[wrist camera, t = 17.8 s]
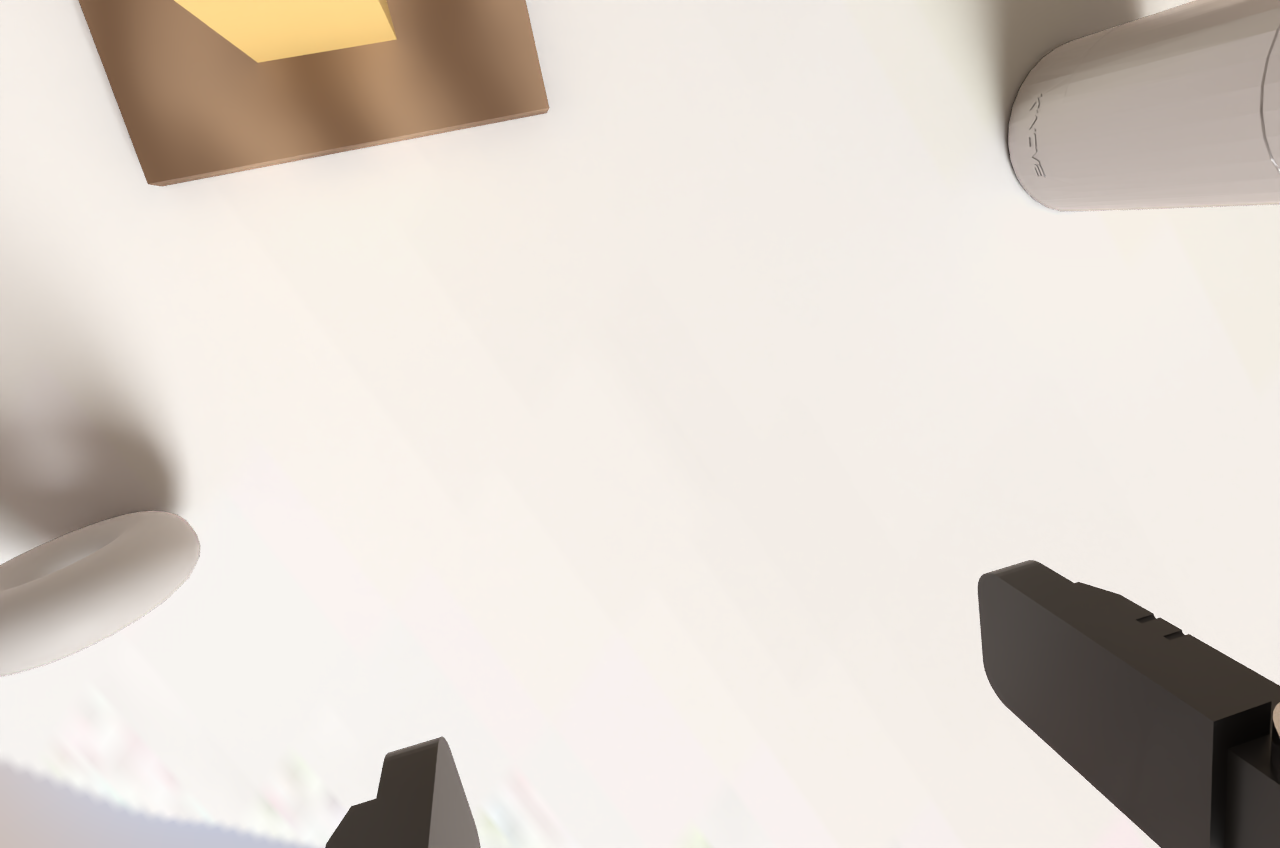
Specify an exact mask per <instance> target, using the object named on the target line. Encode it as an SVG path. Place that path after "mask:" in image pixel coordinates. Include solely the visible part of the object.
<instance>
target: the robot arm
mask: <svg viewBox="0 0 1280 848" xmlns="http://www.w3.org/2000/svg"><path fill="white" fill-rule="evenodd" d="M1008 145H1009V152H1010V159H1011V163H1012V166H1013V168H1014V171H1015V174H1016V177H1017V178H1018V180H1019V181H1020V183H1021V185H1022V186H1023V188H1024V190H1025V191H1026V192H1027V193H1028V194H1029V195H1030V196H1031V197H1032V198H1033V199H1034V200H1035V201H1037V202H1039V203H1041V204H1042V205H1044V206H1046V207H1048V208H1051V209H1055V210H1058V211H1104V210H1140V209H1167V208H1194V207H1221V206H1248V205H1275V204H1280V0H1195V1H1192V2H1189V3H1186V4H1183V5H1180V6H1177V7H1174V8H1171V9H1168V10H1165V11H1162V12H1159V13H1156V14H1153V15H1150V16H1147V17H1143V18H1140V19H1137V20H1134V21H1130V22H1127V23H1124V24H1121V25H1118V26H1115V27H1112V28H1109V29H1106V30H1103V31H1100V32H1097V33H1094V34H1091V35H1088V36H1085V37H1082V38H1079V39H1076V40H1073V41H1070V42H1068V43H1066V44H1063V45H1061V46H1059V47H1057V48H1055V49H1054V50H1053V51H1051V52H1050V53H1049V54H1047V55H1046V56H1045V57H1043V58H1042V59H1041V60H1040V61H1039V62H1038V63H1037V65H1036V66H1035V67H1034V68H1033V69H1032V70H1031V71H1030V72H1029V74H1028V76H1027V77H1026V79H1025V81H1024V82H1023V84H1022V86H1021V87H1020V89H1019V92H1018V94H1017V97H1016V99H1015V102H1014V104H1013V107H1012V112H1011V117H1010V122H1009V135H1008ZM978 599H979V612H980V625H981V639H982V652H983V663H984V668H985V672H986V675H987V677H988V680H989V682H990V684H991V686H992V688H993V690H994V691H995V693H996V695H997V696H998V697H999V699H1000V700H1001V701H1002V703H1003V704H1004V705H1005V706H1006V707H1007V708H1008V709H1010V710H1011V711H1012V712H1013V713H1014V714H1015V715H1016V716H1017V717H1018V718H1019V719H1021V720H1022V721H1023V722H1024V723H1025V724H1026V725H1027V726H1028V727H1029V728H1030V729H1031V730H1033V731H1034V732H1035V733H1036V734H1037V735H1038V736H1039V737H1040V738H1041V739H1042V740H1044V741H1045V742H1046V743H1047V744H1048V745H1049V746H1050V747H1051V748H1052V749H1053V750H1055V751H1056V752H1057V753H1058V754H1059V755H1060V756H1061V757H1062V758H1063V759H1064V760H1065V761H1067V762H1068V763H1069V764H1070V765H1071V766H1072V767H1073V768H1074V769H1075V770H1076V771H1078V772H1079V773H1080V774H1081V775H1082V776H1083V777H1084V778H1085V779H1086V780H1087V781H1089V782H1090V783H1091V784H1092V785H1093V786H1094V787H1095V788H1096V789H1097V790H1098V791H1100V792H1101V793H1102V794H1103V795H1104V796H1105V797H1106V798H1107V799H1108V800H1109V801H1110V802H1112V803H1113V804H1114V805H1115V806H1116V807H1117V808H1118V809H1119V810H1120V811H1121V812H1123V813H1124V814H1125V815H1126V816H1127V817H1128V818H1129V819H1130V820H1131V821H1132V822H1134V823H1135V824H1136V825H1137V826H1138V827H1139V828H1140V829H1141V830H1142V831H1143V832H1144V833H1146V834H1147V835H1148V836H1149V837H1150V838H1151V839H1152V840H1153V841H1154V842H1155V843H1157V844H1158V845H1159V846H1160V847H1161V848H1280V686H1279V685H1277V684H1275V683H1274V682H1272V681H1270V680H1268V679H1267V678H1265V677H1263V676H1261V675H1260V674H1258V673H1256V672H1254V671H1253V670H1251V669H1249V668H1247V667H1246V666H1244V665H1242V664H1240V663H1239V662H1237V661H1235V660H1233V659H1232V658H1230V657H1228V656H1226V655H1225V654H1223V653H1221V652H1219V651H1218V650H1216V649H1214V648H1212V647H1211V646H1209V645H1207V644H1205V643H1204V642H1202V641H1200V640H1198V639H1197V638H1195V637H1193V636H1191V635H1190V634H1188V635H1184V634H1183V633H1182V630H1181V629H1179V628H1177V627H1176V626H1174V625H1172V624H1170V623H1169V622H1167V621H1165V620H1163V619H1162V618H1158V619H1156V618H1155V617H1154V615H1153V613H1151V612H1149V611H1148V610H1146V609H1144V608H1142V607H1141V606H1139V605H1137V604H1135V603H1134V602H1132V601H1130V600H1128V599H1127V598H1125V597H1123V596H1121V595H1119V594H1116V593H1113V592H1110V591H1106V590H1103V589H1100V588H1097V587H1093V586H1090V585H1087V584H1083V583H1080V582H1077V583H1073V582H1071V581H1070V580H1068V579H1066V578H1065V577H1063V576H1061V575H1059V574H1058V573H1056V572H1054V571H1053V570H1051V569H1049V568H1048V567H1046V566H1044V565H1043V564H1041V563H1039V562H1037V561H1033V560H1029V561H1025V562H1022V563H1019V564H1015V565H1012V566H1009V567H1006V568H1002V569H999V570H996V571H992V572H989V573H986V574H983V575H982V576H981V577H980V579H979V582H978ZM325 848H480V842H479V837H478V833H477V829H476V825H475V822H474V819H473V816H472V813H471V810H470V807H469V804H468V801H467V798H466V795H465V792H464V789H463V786H462V783H461V780H460V777H459V774H458V771H457V768H456V765H455V762H454V759H453V756H452V753H451V750H450V748H449V745H448V743H447V741H446V740H445V738H444V737H440V738H436V739H433V740H430V741H426V742H423V743H420V744H417V745H413V746H410V747H407V748H403V749H400V750H397V751H393V752H390V753H388V754H387V755H386V756H385V759H384V763H383V768H382V773H381V778H380V783H379V788H378V793H377V798H376V799H374V800H370V801H367V802H364V803H361V804H358V805H354V806H351V808H350V809H349V811H348V812H347V814H346V815H345V817H344V818H343V820H342V821H341V823H340V824H339V826H338V827H337V829H336V830H335V832H334V833H333V835H332V836H331V838H330V839H329V841H328V842H327V844H326V847H325Z"/></svg>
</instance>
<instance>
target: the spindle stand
mask: <svg viewBox="0 0 1280 848" xmlns="http://www.w3.org/2000/svg"><path fill="white" fill-rule="evenodd" d="M79 3H80V5H81V8H82V11H83V13H84V16H85V19H86V21H87V24H88V27H89V29H90V32H91V35H92V37H93V40H94V42H95V45H96V48H97V50H98V53H99V56H100V58H101V61H102V64H103V66H104V69H105V72H106V74H107V77H108V80H109V82H110V85H111V87H112V90H113V93H114V95H115V98H116V101H117V103H118V106H119V109H120V111H121V114H122V117H123V119H124V122H125V125H126V127H127V130H128V132H129V135H130V138H131V140H132V143H133V146H134V148H135V151H136V154H137V156H138V159H139V162H140V164H141V167H142V170H143V172H144V175H145V178H146V180H147V183H148V184H151V185H157V186H166V185H172V184H177V183H182V182H187V181H193V180H198V179H203V178H208V177H213V176H219V175H224V174H229V173H234V172H240V171H245V170H250V169H255V168H261V167H266V166H271V165H276V164H282V163H287V162H292V161H297V160H303V159H308V158H313V157H318V156H324V155H329V154H334V153H339V152H345V151H350V150H355V149H360V148H366V147H371V146H376V145H381V144H387V143H392V142H397V141H402V140H407V139H413V138H418V137H423V136H428V135H434V134H439V133H444V132H449V131H455V130H460V129H465V128H470V127H476V126H481V125H486V124H491V123H497V122H502V121H507V120H512V119H518V118H523V117H528V116H533V115H539V114H544V113H547V111H548V109H549V105H548V101H547V96H546V91H545V87H544V82H543V78H542V73H541V69H540V64H539V60H538V55H537V51H536V46H535V41H534V37H533V32H532V28H531V23H530V19H529V14H528V10H527V5H526V1H525V0H387V4H388V8H389V12H390V16H391V19H392V23H393V27H394V31H395V34H396V38H397V40H391V41H385V42H379V43H373V44H367V45H361V46H355V47H349V48H343V49H337V50H331V51H325V52H319V53H313V54H307V55H301V56H295V57H289V58H283V59H277V60H271V61H265V62H259V63H257V62H256V61H255V60H253V59H252V58H251V57H249V56H248V55H247V54H245V53H244V52H243V51H241V50H240V49H239V48H237V47H236V46H235V45H233V44H232V43H231V42H229V41H228V40H226V39H225V38H224V37H222V36H221V35H220V34H218V33H217V32H216V31H214V30H213V29H212V28H210V27H209V26H208V25H206V24H205V23H204V22H202V21H201V20H200V19H198V18H197V17H196V16H194V15H193V14H191V13H190V12H189V11H187V10H186V9H185V8H183V7H182V6H181V5H179V4H178V3H177V2H175V1H174V0H79Z"/></svg>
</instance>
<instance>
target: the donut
mask: <svg viewBox="0 0 1280 848" xmlns="http://www.w3.org/2000/svg"><path fill="white" fill-rule="evenodd" d="M199 557H200V543H199V540H198V537H197V534H196V533H195V531H194V530H193V528H192V527H191V526H190V524H189V523H188V522H187V521H186V520H185V519H183V518H181V517H180V516H178V515H177V514H172V513H168V512H163V511H141V512H135V513H130V514H124V515H121V516H117V517H114V518H110V519H107V520H103V521H100V522H97V523H95V524H92V525H89V526H86V527H84V528H81V529H78V530H75V531H73V532H70V533H68V534H66V535H63V536H61V537H58V538H56V539H54V540H51V541H49V542H46V543H44V544H42V545H40V546H38V547H36V548H33V549H31V550H29V551H27V552H25V553H23V554H21V555H19V556H17V557H14V558H13V559H11V560H9V561H7V562H5V563H3V564H1V565H0V677H1V676H7V675H12V674H16V673H20V672H23V671H27V670H31V669H34V668H38V667H41V666H45V665H47V664H50V663H52V662H55V661H57V660H60V659H62V658H65V657H67V656H70V655H72V654H75V653H77V652H80V651H82V650H84V649H86V648H88V647H90V646H92V645H94V644H96V643H98V642H100V641H102V640H104V639H106V638H108V637H110V636H112V635H114V634H115V633H117V632H119V631H120V630H122V629H124V628H125V627H127V626H129V625H130V624H132V623H134V622H135V621H137V620H139V619H141V618H142V617H144V616H145V615H146V614H148V613H149V612H151V611H152V610H153V609H155V608H156V607H157V606H159V605H160V604H162V603H163V602H164V601H166V600H167V599H168V598H169V597H170V596H171V595H172V594H173V593H174V592H175V591H176V590H177V589H178V588H179V587H180V586H181V585H182V584H183V583H184V582H185V581H186V580H187V579H188V578H189V577H190V575H191V573H192V571H193V569H194V567H195V565H196V563H197V561H198V559H199Z"/></svg>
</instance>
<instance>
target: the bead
mask: <svg viewBox="0 0 1280 848" xmlns="http://www.w3.org/2000/svg"><path fill="white" fill-rule="evenodd" d="M174 1H175V2H177V3H178V4H179V5H181V6H182V7H183V8H185V9H186V10H187V11H189V12H190V13H191V14H193V15H194V16H196V17H197V18H198V19H200V20H201V21H202V22H204V23H205V24H206V25H208V26H209V27H210V28H212V29H213V30H214V31H216V32H217V33H218V34H220V35H221V36H222V37H224V38H225V39H226V40H228V41H229V42H231V43H232V44H233V45H235V46H236V47H237V48H239V49H240V50H241V51H243V52H244V53H245V54H247V55H248V56H249V57H251V58H252V59H253V60H255V61H256V62H257V63H259V62H265V61H271V60H277V59H283V58H289V57H295V56H301V55H307V54H313V53H319V52H325V51H331V50H337V49H343V48H349V47H355V46H361V45H367V44H373V43H379V42H385V41H391V40H397V38H396V34H395V31H394V27H393V23H392V19H391V16H390V12H389V8H388V4H387V0H174Z"/></svg>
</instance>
